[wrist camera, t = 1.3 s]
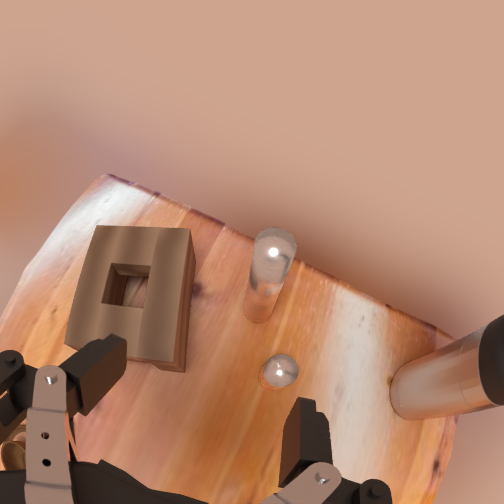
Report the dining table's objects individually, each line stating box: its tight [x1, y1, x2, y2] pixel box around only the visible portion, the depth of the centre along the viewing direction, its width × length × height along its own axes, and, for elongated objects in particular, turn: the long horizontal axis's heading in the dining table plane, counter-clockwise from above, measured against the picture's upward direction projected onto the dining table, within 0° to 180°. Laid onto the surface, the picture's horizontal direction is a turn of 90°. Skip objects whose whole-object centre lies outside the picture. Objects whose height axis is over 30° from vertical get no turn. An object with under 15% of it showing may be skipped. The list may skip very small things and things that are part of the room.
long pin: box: [244, 227, 297, 323], centre depth 31 cm, size 4×4×16 cm
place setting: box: [1, 425, 26, 470], centre depth 18 cm, size 18×20×6 cm
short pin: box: [259, 354, 298, 391], centre depth 30 cm, size 4×4×6 cm
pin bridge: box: [64, 225, 196, 373], centre depth 33 cm, size 13×16×8 cm
